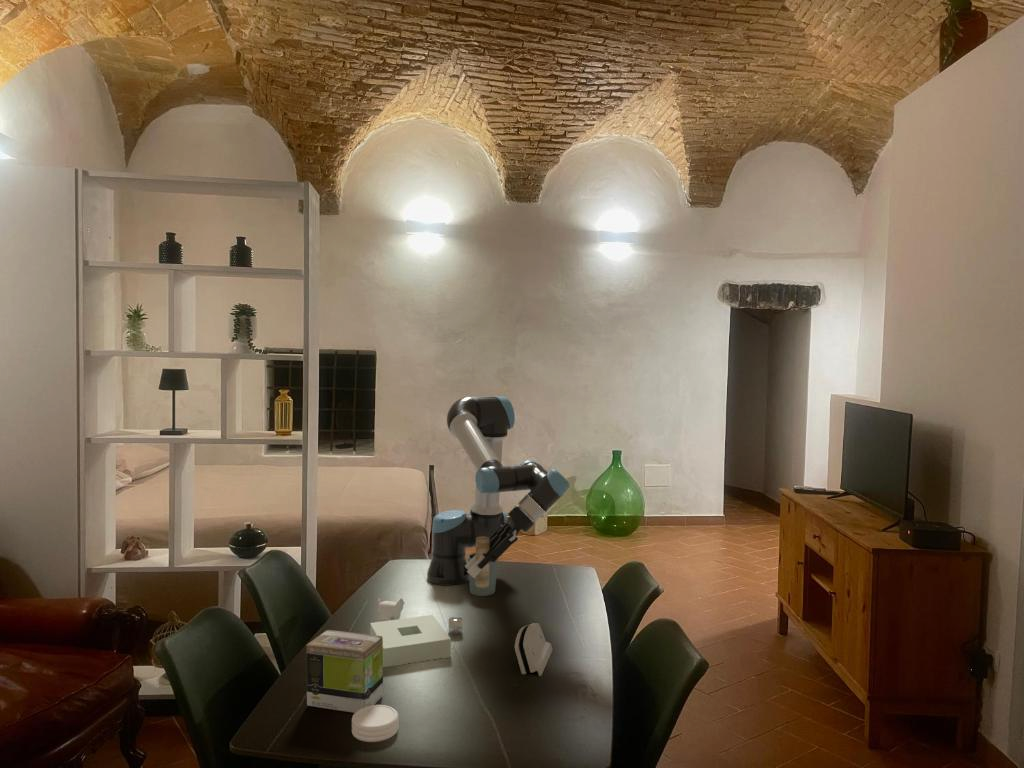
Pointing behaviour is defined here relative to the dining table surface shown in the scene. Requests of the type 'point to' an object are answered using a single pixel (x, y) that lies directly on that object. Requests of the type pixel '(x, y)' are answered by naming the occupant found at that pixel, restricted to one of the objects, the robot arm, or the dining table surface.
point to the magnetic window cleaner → (532, 649)
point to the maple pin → (483, 576)
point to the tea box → (344, 670)
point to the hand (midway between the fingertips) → (469, 572)
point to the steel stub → (455, 626)
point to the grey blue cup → (492, 580)
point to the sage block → (412, 640)
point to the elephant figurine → (389, 609)
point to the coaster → (375, 723)
